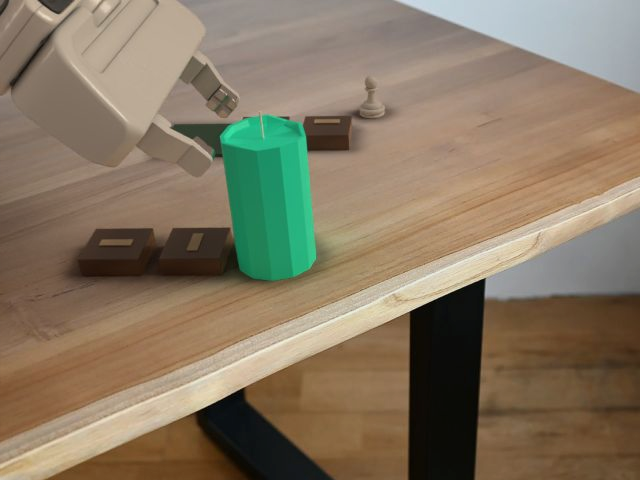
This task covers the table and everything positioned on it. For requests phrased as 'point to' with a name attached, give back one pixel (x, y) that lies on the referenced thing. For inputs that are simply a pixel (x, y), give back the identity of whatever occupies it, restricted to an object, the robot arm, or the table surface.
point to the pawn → (371, 101)
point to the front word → (138, 244)
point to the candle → (269, 196)
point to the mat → (204, 134)
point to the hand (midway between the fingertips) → (221, 136)
